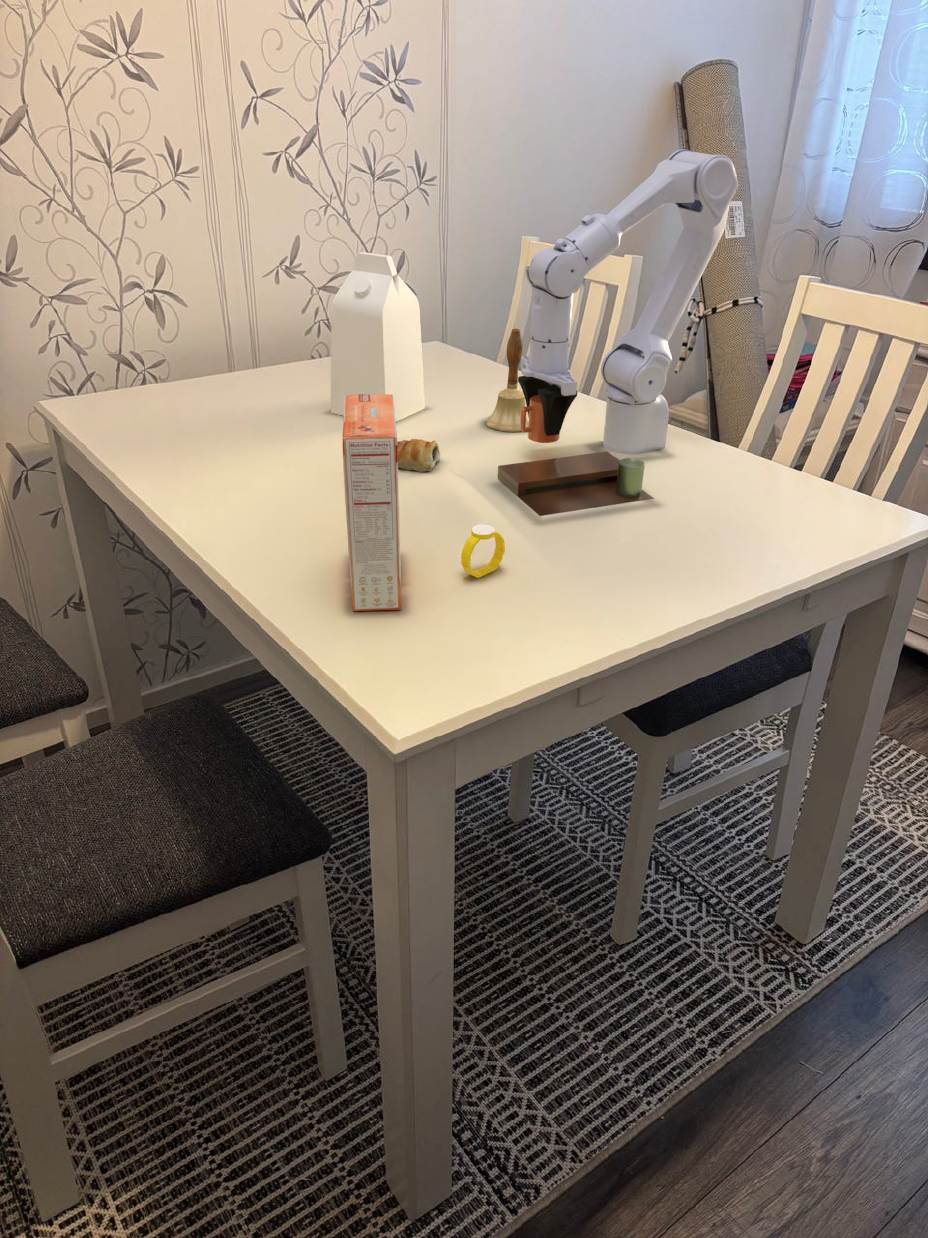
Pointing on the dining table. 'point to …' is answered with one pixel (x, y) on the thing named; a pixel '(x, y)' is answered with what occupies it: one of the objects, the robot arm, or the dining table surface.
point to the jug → (535, 422)
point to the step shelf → (566, 483)
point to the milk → (376, 337)
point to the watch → (476, 535)
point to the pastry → (417, 454)
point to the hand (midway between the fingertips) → (544, 428)
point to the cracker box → (372, 501)
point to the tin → (630, 477)
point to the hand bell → (510, 392)
